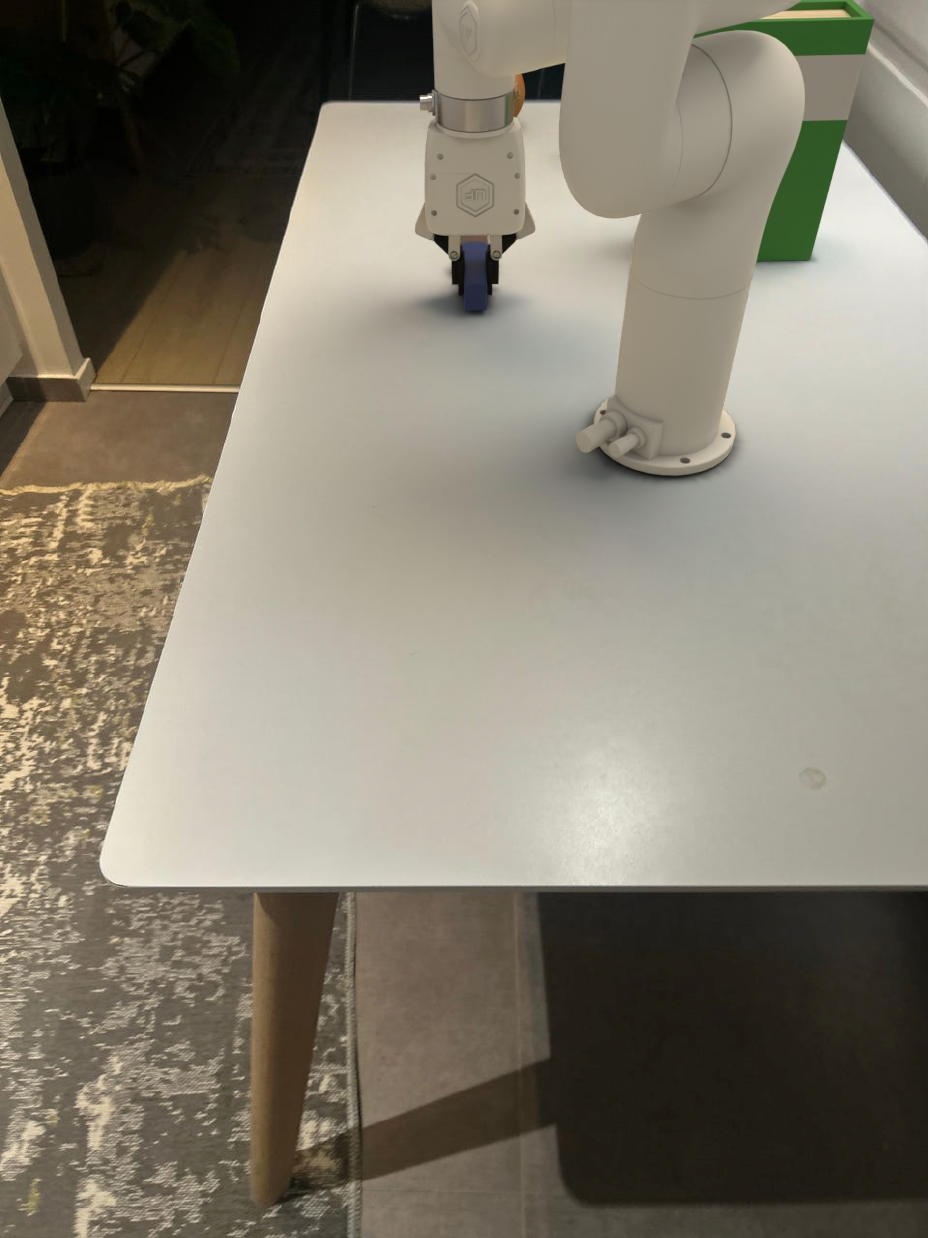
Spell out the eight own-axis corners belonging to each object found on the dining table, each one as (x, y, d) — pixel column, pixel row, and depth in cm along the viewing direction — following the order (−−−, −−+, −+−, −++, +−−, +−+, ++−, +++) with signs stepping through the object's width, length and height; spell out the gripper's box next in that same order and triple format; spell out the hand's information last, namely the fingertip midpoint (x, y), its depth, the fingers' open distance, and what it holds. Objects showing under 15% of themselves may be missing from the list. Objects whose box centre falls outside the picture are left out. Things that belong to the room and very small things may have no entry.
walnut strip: (487, 256, 108) (487, 244, 107) (462, 257, 108) (462, 244, 107) (485, 193, 121) (485, 181, 119) (462, 193, 121) (462, 182, 119)
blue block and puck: (496, 310, 99) (496, 284, 96) (455, 310, 99) (454, 284, 96) (493, 254, 107) (493, 228, 105) (455, 254, 107) (455, 229, 105)
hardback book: (657, 263, 106) (692, 23, 89) (647, 234, 111) (678, 2, 94) (810, 259, 106) (874, 18, 89) (793, 231, 111) (851, -2, 94)
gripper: (388, 123, 85) (400, 307, 99) (561, 121, 85) (550, 306, 99) (392, 95, 90) (403, 274, 104) (556, 93, 90) (546, 272, 104)
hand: (475, 288), depth 101 cm, fingers closed on blue block and puck, 2 cm apart
